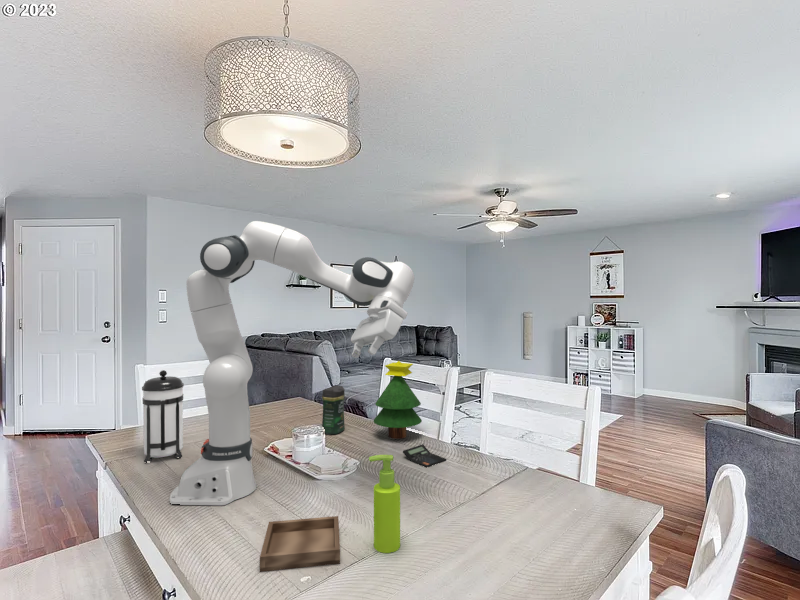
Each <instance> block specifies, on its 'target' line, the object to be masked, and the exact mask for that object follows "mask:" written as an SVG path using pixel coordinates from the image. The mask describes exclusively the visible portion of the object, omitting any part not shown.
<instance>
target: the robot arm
mask: <svg viewBox="0 0 800 600" xmlns="http://www.w3.org/2000/svg"><path fill="white" fill-rule="evenodd" d="M199 254H200V255H199V258H200V259H199V260H200V263H201V265H202V268H203V269H198V270H196V271H194V272H192V273H191V274H190V275H189V276H188V277H187V278H186V292H187V293H186V295H187V302H188V307H189V312H190V315H191V318H192V321H193V326H194V329H195V333H196V338H197V339H198V341H199V343H200V344H201V346H202V348H203V350H204V353H205V354H206V356H207V359H208V361H209V364H208V365H207V367H205V371H204V373H203V377H202V384H203V388H204V393H205V394H204V395H205V400H206V401H205V402H206V406H207V412H208V413H207V414H208V438H207V439H205V440H204V442H203V445H202V446H201V448H200V454H201V456H200V457H199V458H198V459H196V460H195V461H194V462H192V464H190V465H189V466H188V467H187V468H186V469H185V470H184V472H183V473H182V475H181V476H180V480H179V485H177V486H176V487H175V488H174V489H173V490H172V491H171V493H170V495H169V500H168V502H169V501H170V502H169V503H171V504H170V505H172V504H180V505H179V506H226V505H229V504H230V503H232V502H233V501H235V500H239V499H242V498H244V497H247V496H248V495H251V494H252V493H253V492H254V491H256V489H257V482H256V479H255V475H254V471H253V465H252V464H253V462H252V458H253V438H252V437H251V410H250V403H249V395H248V382H249V381H250V379H251V378H252V375H253V372H254V371H253V370H254V369H253V368H254V367H253V362H252V360H251V358H250V353H249V352H248V348H247V346H246V343H245V341H244V338H243V336H242V333H241V330H240V328H239V324H238V320H237V318H236V317H237V316H236V312H235V309H234V305H233V302H232V298H231V295H230V290H229V289H230V287H229V286H230V284H233V283H235V282H237V281H238V280H240V279H242V278H243V277H244V278H245V276H247V275H248V274H250V272H251V271H252V270H253V268H254V267H255V264H256V263H255V261H264V262H267V263H270V264H272V265H276V266H278V267H281V268H283V269H286V270H287V271H292V272H294V273H296V274H298V275H300V276H302V277H304V278H305V279H308V280H309V281H312V282H314V283H316V284H318V285H321V286H324V287H326V288H327V289H330V290H333V291H335V292H338V293H339V294H341V295H343V296H344V297H346V298H347V299H348V300H349V301H350V302H352V303H353V304H354V305H356V306H359V307H368V308H367V310H366V314H367V315H368V317H367V318H364V319H363V320H361V321H360V322H359V324H358V325H357V326H356V328H355V330H354V331H353V334H352V335H351V338H350V342H351V343H352V344H353V351H352V353H351V356H352V357H353V358H355V359H357V358H360V356H361V354H362V352H361V351H362V349H363V348H364V346H365V347H366V346H368V347H369V348H368V350H367V353H368V354H369V355H371V356H374V355H376V354H377V352H378V350H379V349H380V348H381V346H383V344H384V342H386V341H389V340H392V339H394V338H395V337H396V336H397V334H398V332H399V330H400V328H401V327H402V324H403V322H404V320H405V319H406V318H407V316H408V311H406V310H405V309H404V308H403V307H404V305H405V302H406V301H407V300H408V298H409V297H410V293H411V292H412V288H413V287H414V283H415V273H414V271H413V270H412V268H411V267H410V266H409V265H408V264H407V263H404V262H403V261H393V262H388V261H381V260H378V259H376V258H374V257H370V256H369V257H368V256H367V257H362V258H360V259H358V260H356V261H355V263H353V266H352V270H351V272H350V274H348V273H347V272H344V271H341V270H339V269H337V268H335V267H333V266H330V265H328V264H327V263H325V262H324V261H323V260H322V259H321V257H320V256H319V255H318V253H317V251H316V250H315V247H314V246H313V243H312V241H311V240H310V239H309V237H307V236H306V235H304V234H303V233H301V232H299V231H296V230H294V229H292V228H288V227H286V226H283V225H279V224H276V223H271V222H266V221H260V220H253V221H250V222H249V223H248V224H247V225H245V226H244V228H243V230H242V232H241V235H240V236H238V235H236V234H235V235H233V234H231V235H228V236H221V237H217V238H213V239H211V240H209V241H207V242H206V243H205V244H204V245H203V246H202V248H201V250H200V253H199ZM369 345H370V346H369Z"/></svg>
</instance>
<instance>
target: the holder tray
mask: <svg viewBox="0 0 800 600" xmlns="http://www.w3.org/2000/svg"><path fill="white" fill-rule="evenodd" d="M339 525H340V521H339V516H338V515H336V516H335V515H334V516H333V515H332V516H324V517H321V516H320V517H310V518H299V519H288V520H276V521H275V520H274V521H268V524H267V528H266V532H265V536H264V540H263V542H262V548H261V550H260V551H261V552H260V555H259V573H261V572H262V573H263V572H272V571H282V570H293V569H301V568H310V567H311V568H312V567H313V568H314V567H321V566H322V567H323V566H332V565H340V564H341V548H340V547H341V544H340V542H341V541H340V526H339Z"/></svg>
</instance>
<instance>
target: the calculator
mask: <svg viewBox="0 0 800 600" xmlns="http://www.w3.org/2000/svg"><path fill="white" fill-rule="evenodd" d="M402 454H403V455H404V456H405V457H406V458H407V459H408V460H409V462H412V463H414V464H417V465H418V464H419V465H418V466H421V467H423V466H424V468H427V467H428V468H430V467H432V465H433V466H435V464H436V465H438V463H439V464H441V463H444V462H447V458H445V457H443V456H439V455H437V454H434V453H431V452H430V450H429V449H428V448H427V447H426V446H425V445H424V443H423V444H419V445H415V446H414V447H410V448H407V449H403V451H402ZM428 468H427V469H428Z"/></svg>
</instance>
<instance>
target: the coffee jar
mask: <svg viewBox="0 0 800 600" xmlns="http://www.w3.org/2000/svg"><path fill="white" fill-rule="evenodd" d="M321 397H322V419H321V420H322V421H321V427H322V426H323V427H324V429H325V433H326V434H325V433H324V434H325V435H329V436H330V435H338V434H340V433H342V432H343V431H344V430H345V425H346V424H345V408H344V407H345V405H344V404H345V403H344V402H345V388H344V386H342V385H333V386H330V387H327V388H324V389H322V394H321Z"/></svg>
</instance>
